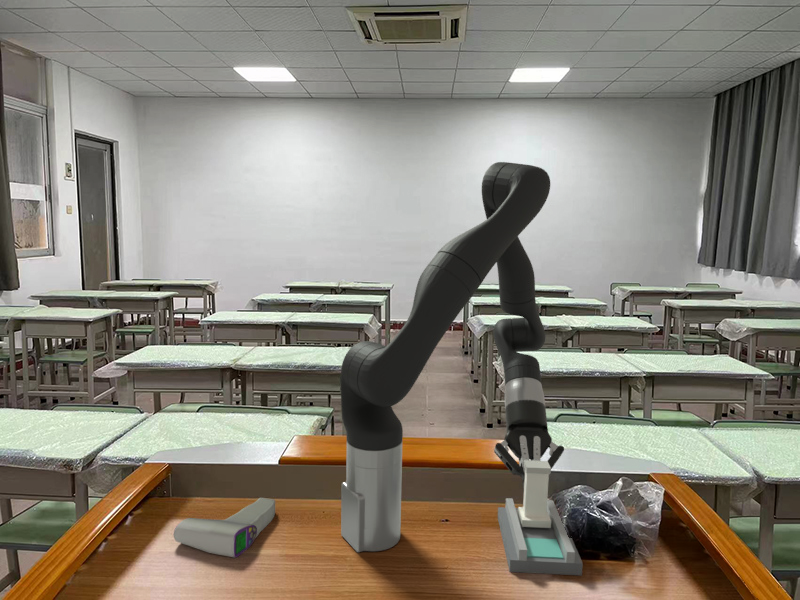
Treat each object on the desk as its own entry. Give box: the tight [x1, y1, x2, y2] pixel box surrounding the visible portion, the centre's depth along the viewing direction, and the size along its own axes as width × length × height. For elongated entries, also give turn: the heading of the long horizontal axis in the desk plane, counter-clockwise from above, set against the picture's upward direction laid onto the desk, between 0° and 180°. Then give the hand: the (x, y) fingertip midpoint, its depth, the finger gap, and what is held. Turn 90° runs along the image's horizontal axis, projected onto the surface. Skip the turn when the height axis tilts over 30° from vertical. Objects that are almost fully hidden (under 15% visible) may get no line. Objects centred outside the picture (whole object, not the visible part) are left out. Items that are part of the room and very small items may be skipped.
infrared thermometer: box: [173, 497, 276, 559], centre depth 99 cm, size 5×12×15 cm
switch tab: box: [517, 459, 552, 528], centre depth 98 cm, size 4×5×10 cm
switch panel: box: [497, 497, 584, 576], centre depth 96 cm, size 16×11×4 cm
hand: (532, 498), depth 100 cm, fingers closed
